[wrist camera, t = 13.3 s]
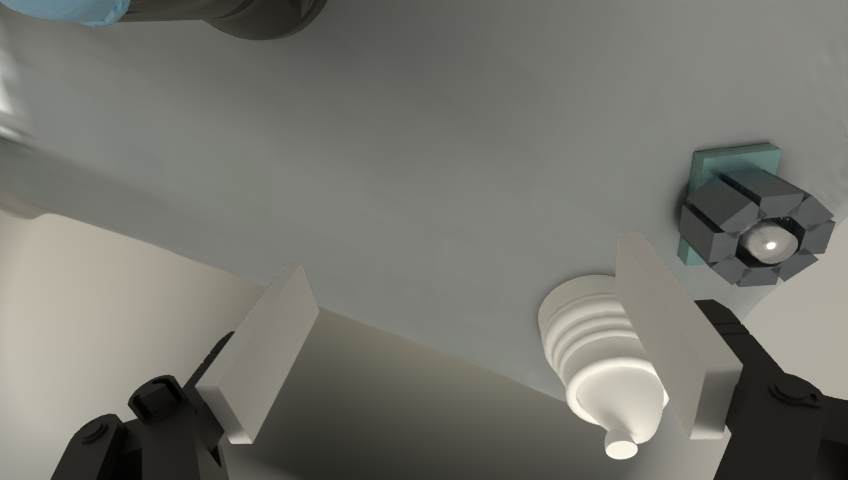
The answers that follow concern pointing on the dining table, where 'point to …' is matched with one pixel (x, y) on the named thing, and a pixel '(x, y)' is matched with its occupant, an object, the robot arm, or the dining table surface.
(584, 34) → the dining table surface
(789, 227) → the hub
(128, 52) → the dining table surface
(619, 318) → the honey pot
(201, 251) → the dining table surface
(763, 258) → the teal two-tone fixture
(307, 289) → the robot arm
